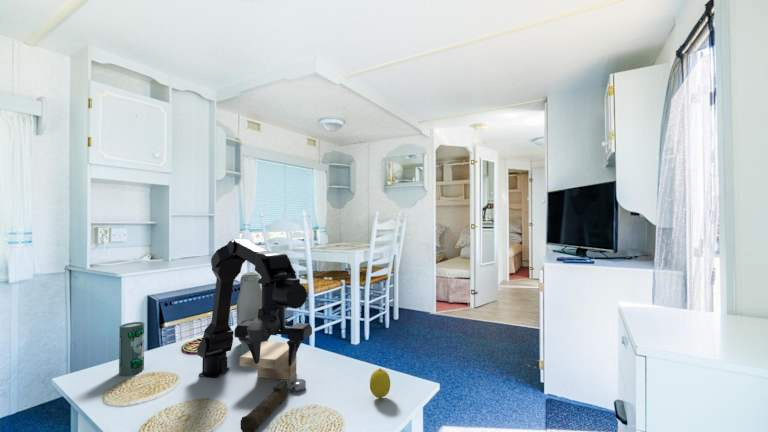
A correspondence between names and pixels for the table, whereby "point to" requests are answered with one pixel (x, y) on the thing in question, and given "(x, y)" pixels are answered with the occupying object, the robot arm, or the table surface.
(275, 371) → the beige wooden box
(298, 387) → the steel token
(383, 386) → the lemon
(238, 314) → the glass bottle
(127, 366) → the can
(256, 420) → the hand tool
